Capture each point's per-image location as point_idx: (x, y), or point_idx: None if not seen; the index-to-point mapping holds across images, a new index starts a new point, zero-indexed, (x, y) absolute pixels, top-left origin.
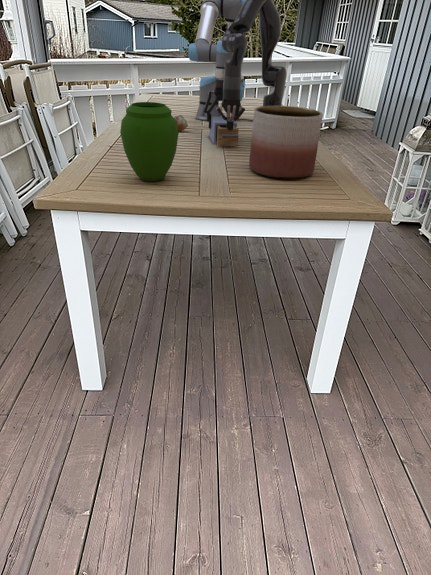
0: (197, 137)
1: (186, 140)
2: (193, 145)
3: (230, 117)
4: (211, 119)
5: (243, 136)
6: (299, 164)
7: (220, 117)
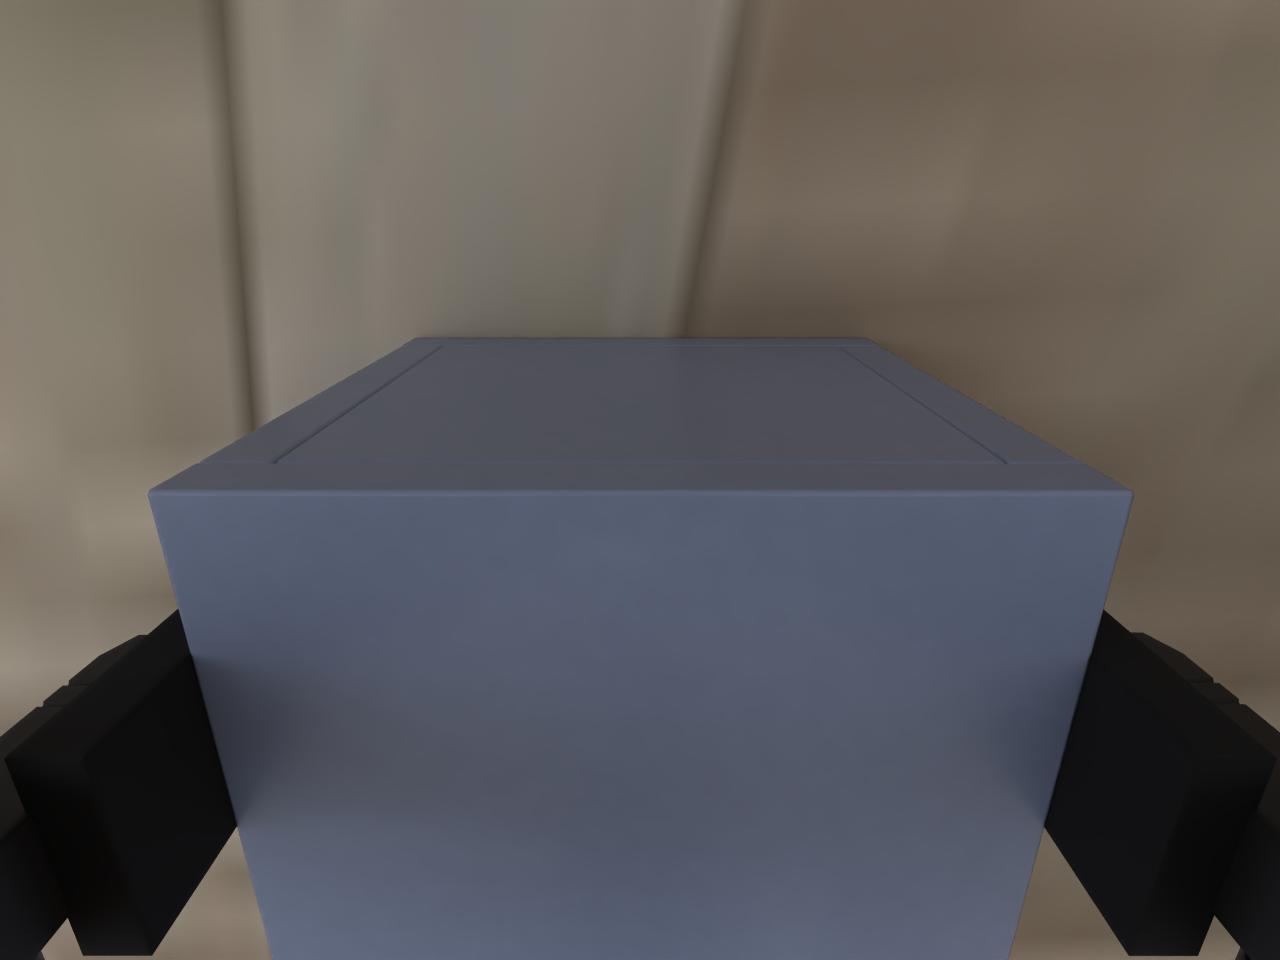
0: (169, 417)
1: (6, 652)
2: None
3: (1052, 636)
4: (262, 851)
5: (1210, 261)
6: None
7: (611, 664)
